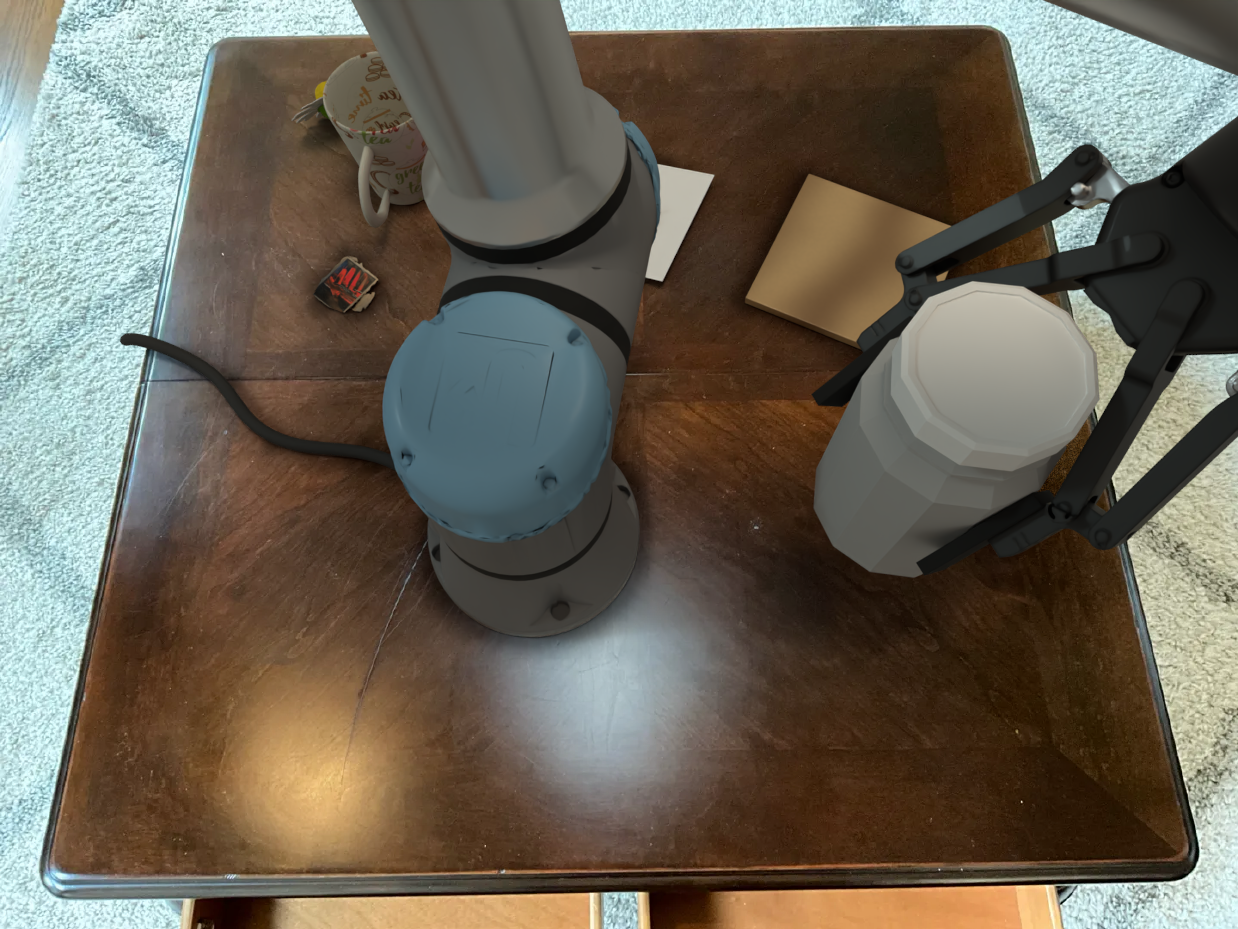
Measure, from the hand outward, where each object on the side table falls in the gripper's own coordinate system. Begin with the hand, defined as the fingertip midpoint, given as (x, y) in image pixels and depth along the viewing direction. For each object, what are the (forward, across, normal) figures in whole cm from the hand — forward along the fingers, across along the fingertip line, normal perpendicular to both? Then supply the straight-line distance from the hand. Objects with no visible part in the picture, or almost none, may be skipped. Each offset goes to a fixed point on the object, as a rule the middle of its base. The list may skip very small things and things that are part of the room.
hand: (876, 480), depth 46 cm
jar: (+3, 0, -8) cm, 9 cm away
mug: (+24, +44, -2) cm, 51 cm away
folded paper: (+12, +35, -14) cm, 40 cm away
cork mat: (+2, +21, -25) cm, 33 cm away
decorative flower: (+22, +51, -1) cm, 56 cm away
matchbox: (+29, +38, +3) cm, 47 cm away
